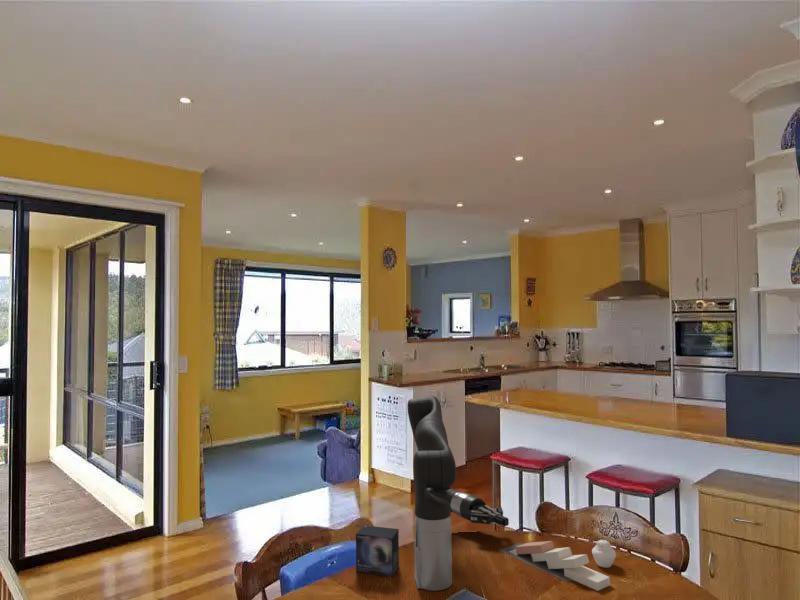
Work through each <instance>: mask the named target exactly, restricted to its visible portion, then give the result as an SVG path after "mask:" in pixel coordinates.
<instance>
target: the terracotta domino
mask: <svg viewBox="0 0 800 600" xmlns="http://www.w3.org/2000/svg"><path fill="white" fill-rule="evenodd" d="M515 549H516V553H517V554H534V553H544V552H547V551H549V550H552V549H555V544H554V541H553V540H547V541H535V542H532V541H531V542H526V543H522V545H519V546H516V547H515Z"/></svg>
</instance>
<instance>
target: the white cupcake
mask: <svg viewBox="0 0 800 600" xmlns="http://www.w3.org/2000/svg"><path fill="white" fill-rule="evenodd" d="M591 554H592V556H593V559H594V560H595V563H596V564H597V566H598V567H602V568H611V567H612V566H613V564H614V562H615V559H616V557H617V552H616V551H615V550H614V549H613V547H612V546H611V542H609V540H606V539H600V540H597V542H596V544H595V546H594V547H593V548H592V549H591Z"/></svg>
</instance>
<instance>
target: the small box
mask: <svg viewBox="0 0 800 600" xmlns="http://www.w3.org/2000/svg"><path fill="white" fill-rule="evenodd" d="M399 531H400V530H399V528H391V527H383V526H376V525H375V526H373V525H366V524H365V525H364V524H363V525H362V527H360V528H359V530H358V531H356V532H355V566H356V567H355V572H356V573H362V574H369V575H374V576H375V575H377V576H385V577H391V578H393V577H394V576H395V574H396V573H397V571H398V570H399V568H400V563H399V562H400V561H399V560H400V555H399V554H400V551H399V550H400V549H399V548H400V547H399V546H400V543H399V540H400V539H399V535H400V534H399Z"/></svg>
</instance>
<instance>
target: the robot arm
mask: <svg viewBox="0 0 800 600" xmlns="http://www.w3.org/2000/svg"><path fill="white" fill-rule="evenodd" d="M442 413H443V412H442V405H441V403H440V400H439V399H438V397H437V396H434V395H427V396H421V397H414V398H411V399H408V401H407V417H408V420H409V424H410V428H411V431H412V432H411V433H412V435H413V438H414V441H415V442H414V443H415V445H416V448H417V451H416V452H415V453H414V456H413V459H412V460H413V462H412V466H413V467H412V468H413V483H414V484H413V485H414V534H415V535H414V538H415V539H414V541H413V543H414V545H413V546H414V547H413V548H414V550H413V552H414V580H415V584H416V588H417V589H422V590H425V591H434V592H435V591H442V590H447V589H448V588H450V587H451V586H452V584H453V571H452V569H453V567H452V566H453V562H452V561H453V560H452V557H453V556H452V554H453V553H452V513H453V514H455V515H456V516H458V517H460V518H463V519H465V520H467V521H470V523H472V524H481V525H482V524H483V525H491V524H493V525H496V524H497V525H500V526H503V527H508V526H509V524H510V523H509V522H510V521H509V518H508V517H506V516H504V510H503V507H502V506H500V505H497V507H496V508H493V507H492V506H491V505H488V504H486V503H485V501H484V500H483V499H482V498H480V497H477V496H475V495H472V494H470V493H466V492H462V491H460V490H457V489H455V488H454V489H453V488H451V487H452V486H453V485H454V484H455V481H456V480H457V479H456V478H457V464H456V460H455V457H454V454H453V452H452V449H451V448H450V446H449V441H448V440H449V439H448V434H447V431H446V427H445V424H444V420H443V414H442Z"/></svg>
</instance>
